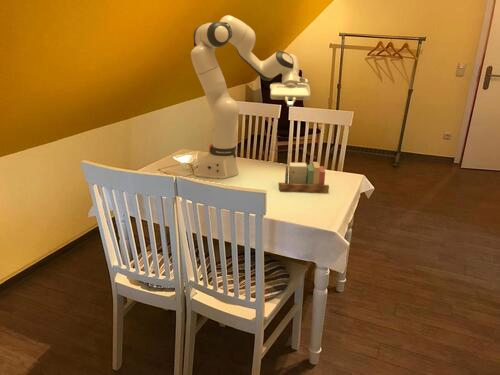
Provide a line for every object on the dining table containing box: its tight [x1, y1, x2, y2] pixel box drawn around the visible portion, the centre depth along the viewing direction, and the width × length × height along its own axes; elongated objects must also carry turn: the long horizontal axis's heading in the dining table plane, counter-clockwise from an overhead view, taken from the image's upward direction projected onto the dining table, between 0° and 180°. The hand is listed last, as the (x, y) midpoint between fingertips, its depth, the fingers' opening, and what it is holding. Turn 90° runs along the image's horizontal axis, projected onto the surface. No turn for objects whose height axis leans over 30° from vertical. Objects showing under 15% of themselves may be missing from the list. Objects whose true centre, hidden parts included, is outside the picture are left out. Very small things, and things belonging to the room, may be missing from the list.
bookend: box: [278, 165, 289, 191], centre depth 196 cm, size 4×8×9 cm, turn 177°
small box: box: [288, 162, 308, 184], centre depth 199 cm, size 8×6×10 cm
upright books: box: [306, 161, 326, 185], centre depth 195 cm, size 8×8×12 cm
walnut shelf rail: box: [279, 182, 330, 194], centre depth 192 cm, size 22×2×4 cm, turn 87°
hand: (290, 105), depth 211 cm, fingers closed
